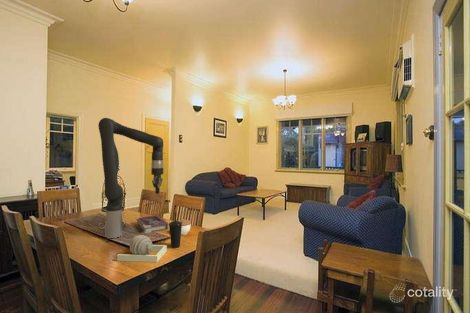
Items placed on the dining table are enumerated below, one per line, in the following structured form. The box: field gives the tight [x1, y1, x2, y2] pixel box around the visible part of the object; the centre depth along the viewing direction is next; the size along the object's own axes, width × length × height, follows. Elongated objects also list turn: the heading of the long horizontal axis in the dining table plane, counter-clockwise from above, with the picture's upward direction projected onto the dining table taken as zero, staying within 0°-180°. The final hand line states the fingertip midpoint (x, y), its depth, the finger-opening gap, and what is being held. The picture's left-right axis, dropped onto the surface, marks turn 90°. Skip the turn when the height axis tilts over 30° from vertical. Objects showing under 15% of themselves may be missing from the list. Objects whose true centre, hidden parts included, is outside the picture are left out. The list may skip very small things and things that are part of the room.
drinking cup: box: [168, 211, 182, 249], centre depth 145 cm, size 8×8×20 cm
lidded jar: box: [177, 218, 192, 236], centre depth 168 cm, size 11×11×9 cm
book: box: [134, 214, 169, 234], centre depth 183 cm, size 25×16×5 cm, turn 34°
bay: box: [116, 244, 168, 263], centre depth 133 cm, size 20×14×3 cm
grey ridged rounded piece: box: [129, 234, 153, 255], centre depth 131 cm, size 11×17×11 cm, turn 55°
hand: (157, 193), depth 165 cm, fingers closed
